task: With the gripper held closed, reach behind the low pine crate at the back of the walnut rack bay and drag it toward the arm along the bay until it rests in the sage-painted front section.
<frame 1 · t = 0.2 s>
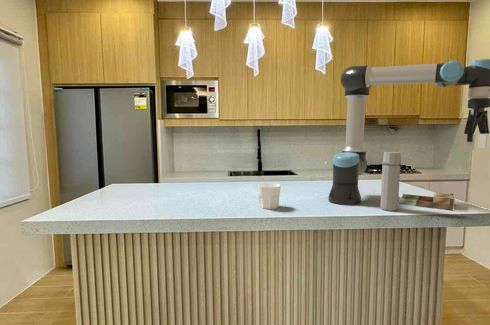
hand: (475, 149, 128), 26 cm above the table, fingers open, 13 cm apart
cup: (268, 207, 137), on the table
bay: (425, 204, 143), on the table
crate: (443, 206, 139), on the table
water bottle: (388, 209, 134), on the table
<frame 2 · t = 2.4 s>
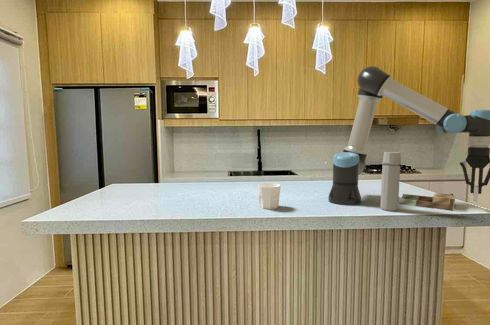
hand: (475, 200, 132), 4 cm above the table, fingers closed
nothing on the table moved.
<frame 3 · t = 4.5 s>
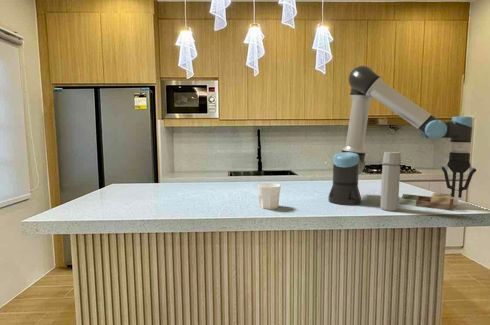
hand: (455, 204, 136), 2 cm above the table, fingers closed
crate: (441, 206, 139), on the table, touching gripper
everything else where it was.
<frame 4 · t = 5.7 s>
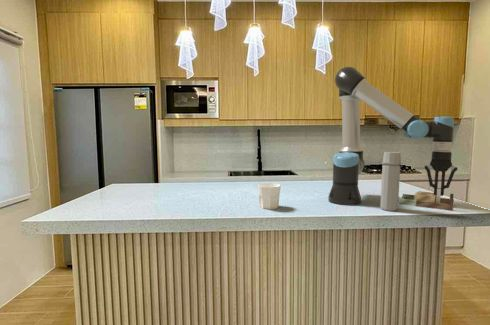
hand: (438, 202, 140), 2 cm above the table, fingers closed
crate: (425, 204, 143), on the table, touching gripper
everything else where it was.
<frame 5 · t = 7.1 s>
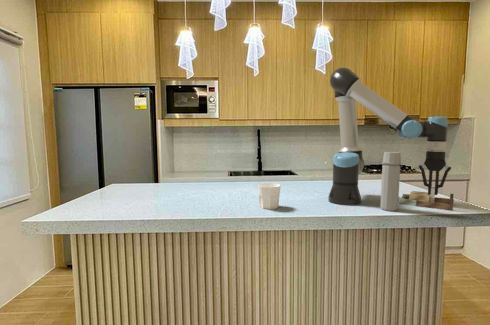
hand: (432, 201, 141), 2 cm above the table, fingers closed
crate: (419, 204, 144), on the table
everything else where it was.
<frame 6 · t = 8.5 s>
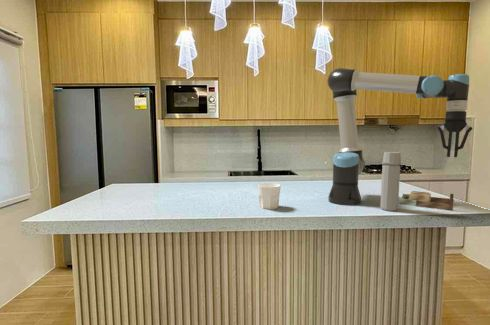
hand: (451, 164, 136), 19 cm above the table, fingers closed
nothing on the table moved.
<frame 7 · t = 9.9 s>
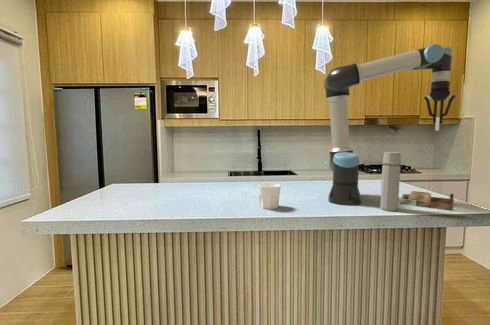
hand: (437, 130, 149), 34 cm above the table, fingers closed
nothing on the table moved.
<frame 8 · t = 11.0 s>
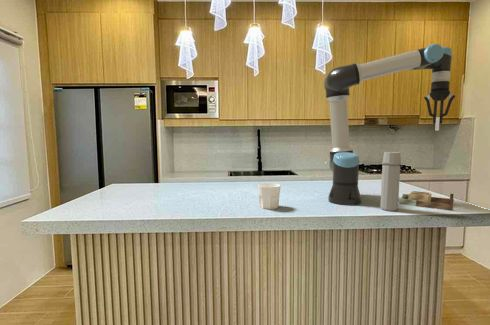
hand: (437, 130, 149), 34 cm above the table, fingers closed
nothing on the table moved.
at the end: crate inside the target area (1.1 cm from its centre), on the table; crate tilted 0° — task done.
